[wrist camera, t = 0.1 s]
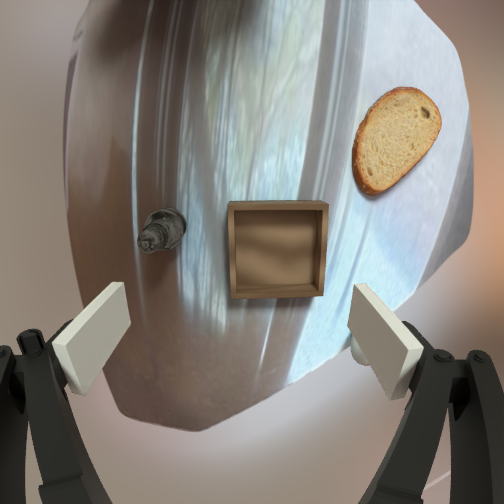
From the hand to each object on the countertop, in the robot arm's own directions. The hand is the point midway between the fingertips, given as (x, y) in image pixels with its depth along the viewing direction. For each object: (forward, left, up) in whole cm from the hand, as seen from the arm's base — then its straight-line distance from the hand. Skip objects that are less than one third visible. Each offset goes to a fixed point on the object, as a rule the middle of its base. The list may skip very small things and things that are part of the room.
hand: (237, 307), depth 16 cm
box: (+4, +5, -28) cm, 29 cm away
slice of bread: (-13, +25, -28) cm, 40 cm away
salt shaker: (+1, -11, -28) cm, 30 cm away
